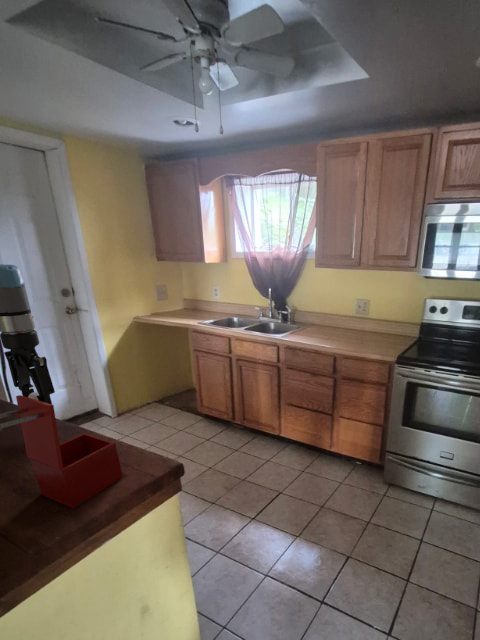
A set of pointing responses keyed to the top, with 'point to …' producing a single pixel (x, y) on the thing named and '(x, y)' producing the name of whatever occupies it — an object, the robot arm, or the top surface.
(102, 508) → the top surface
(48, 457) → the hatch
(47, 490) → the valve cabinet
